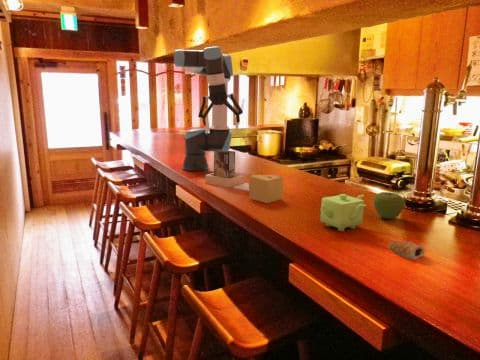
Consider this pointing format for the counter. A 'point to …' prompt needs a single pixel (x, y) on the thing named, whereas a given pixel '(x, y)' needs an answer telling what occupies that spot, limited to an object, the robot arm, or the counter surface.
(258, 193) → the cheese
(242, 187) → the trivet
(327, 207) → the kettle
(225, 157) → the coffee box
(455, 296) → the counter surface
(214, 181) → the tray
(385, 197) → the apple
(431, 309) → the counter surface
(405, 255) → the grey tapered shell
